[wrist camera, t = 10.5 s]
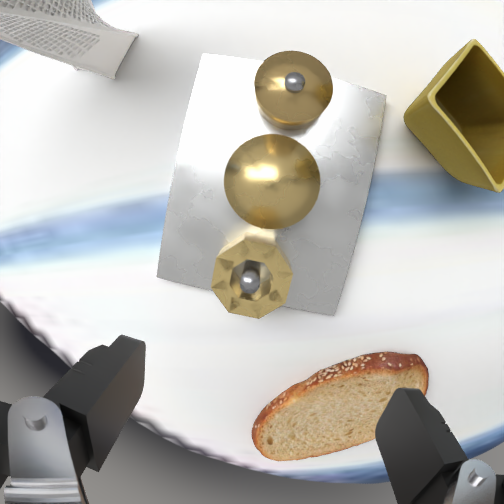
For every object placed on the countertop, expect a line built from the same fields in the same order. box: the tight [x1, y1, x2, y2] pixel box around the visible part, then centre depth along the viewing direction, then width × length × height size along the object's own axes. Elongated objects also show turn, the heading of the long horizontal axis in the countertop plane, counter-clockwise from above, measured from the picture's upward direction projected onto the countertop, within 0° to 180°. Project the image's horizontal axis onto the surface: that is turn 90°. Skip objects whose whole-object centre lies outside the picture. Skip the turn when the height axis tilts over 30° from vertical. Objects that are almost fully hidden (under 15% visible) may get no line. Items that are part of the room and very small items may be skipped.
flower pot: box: [404, 39, 504, 193], centre depth 19 cm, size 9×9×9 cm
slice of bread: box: [252, 352, 428, 461], centre depth 29 cm, size 18×18×4 cm
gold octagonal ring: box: [211, 232, 293, 319], centre depth 24 cm, size 6×6×4 cm
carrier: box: [157, 51, 386, 316], centre depth 23 cm, size 16×20×6 cm
